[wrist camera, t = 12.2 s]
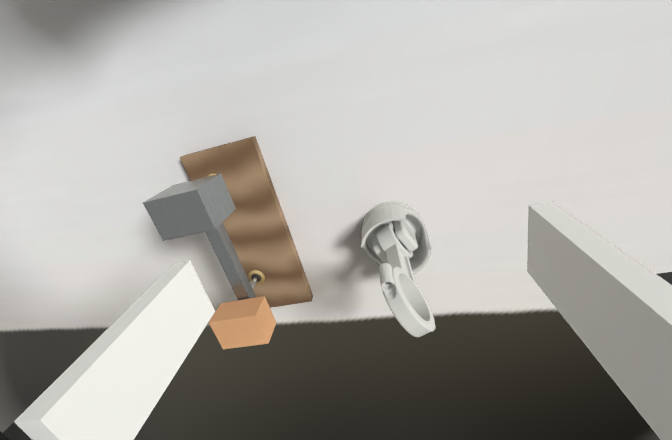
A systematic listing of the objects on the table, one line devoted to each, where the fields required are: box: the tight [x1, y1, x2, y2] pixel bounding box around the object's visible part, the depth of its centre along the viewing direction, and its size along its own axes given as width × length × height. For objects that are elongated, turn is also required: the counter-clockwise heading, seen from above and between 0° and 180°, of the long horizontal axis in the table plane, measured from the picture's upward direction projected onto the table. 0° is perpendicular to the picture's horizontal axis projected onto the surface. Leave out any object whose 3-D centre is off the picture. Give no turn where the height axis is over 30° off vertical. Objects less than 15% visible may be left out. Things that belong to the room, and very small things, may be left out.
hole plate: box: [180, 136, 313, 308], centre depth 52 cm, size 30×12×2 cm, turn 15°
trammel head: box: [209, 278, 276, 349], centre depth 49 cm, size 5×7×13 cm
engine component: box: [361, 201, 436, 337], centre depth 42 cm, size 11×20×10 cm
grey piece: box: [143, 173, 256, 300], centre depth 46 cm, size 26×7×14 cm, turn 15°
